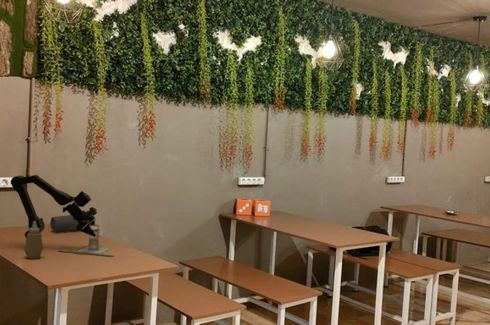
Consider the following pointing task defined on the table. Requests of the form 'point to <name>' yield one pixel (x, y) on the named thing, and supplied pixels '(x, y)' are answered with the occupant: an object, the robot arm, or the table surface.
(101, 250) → the mat
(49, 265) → the table surface
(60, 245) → the table surface
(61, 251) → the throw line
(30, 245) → the squeeze bottle
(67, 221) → the bluetooth speaker
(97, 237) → the skittle
